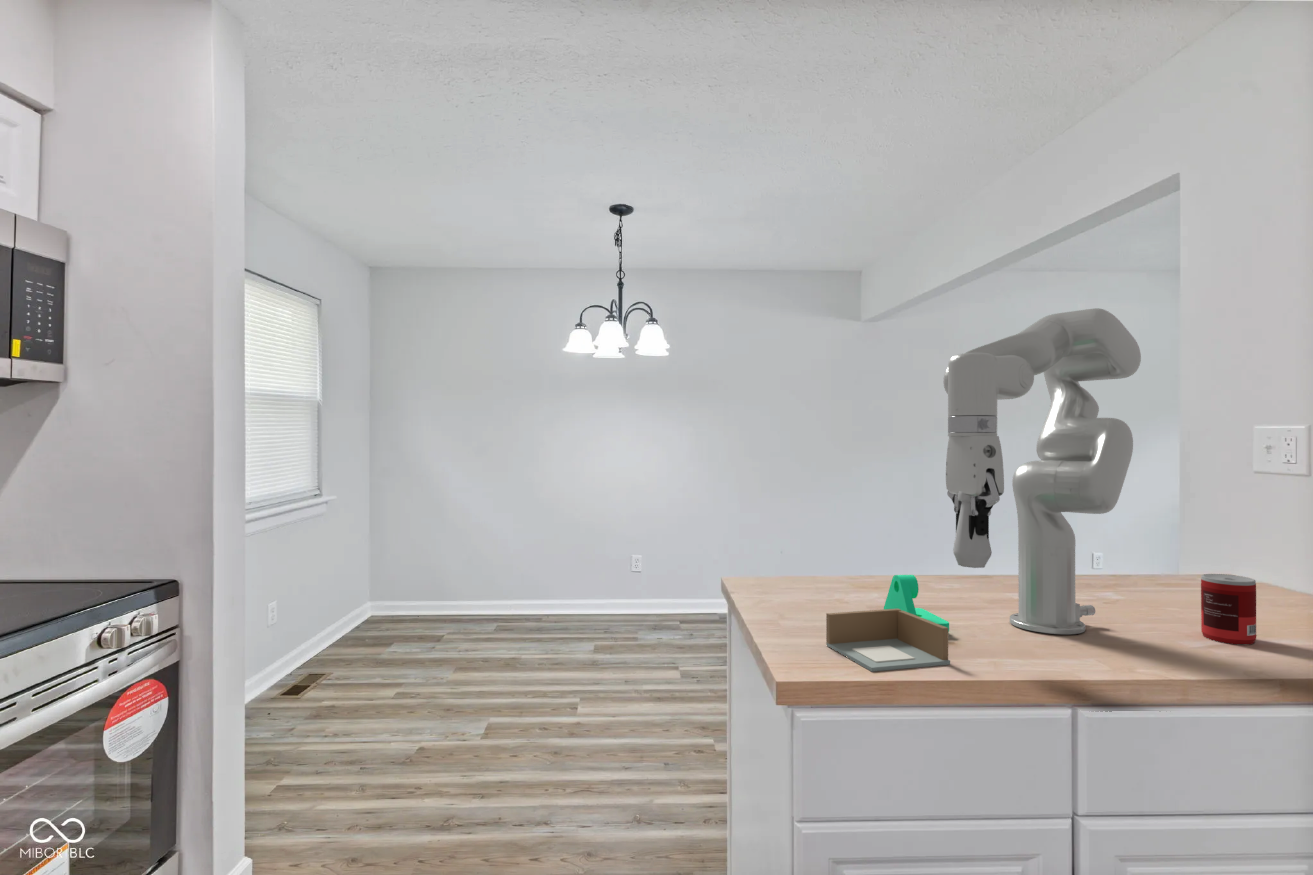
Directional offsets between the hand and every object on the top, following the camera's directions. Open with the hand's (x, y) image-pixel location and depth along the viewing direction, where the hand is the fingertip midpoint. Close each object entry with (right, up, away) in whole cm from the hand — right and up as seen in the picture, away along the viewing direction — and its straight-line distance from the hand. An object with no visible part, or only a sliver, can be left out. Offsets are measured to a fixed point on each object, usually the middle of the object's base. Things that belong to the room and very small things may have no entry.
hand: (971, 537), depth 116 cm
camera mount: (-3, -20, +16) cm, 25 cm away
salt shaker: (0, -5, 0) cm, 5 cm away
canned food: (+50, -20, +9) cm, 54 cm away
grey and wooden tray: (-15, -19, -1) cm, 24 cm away
